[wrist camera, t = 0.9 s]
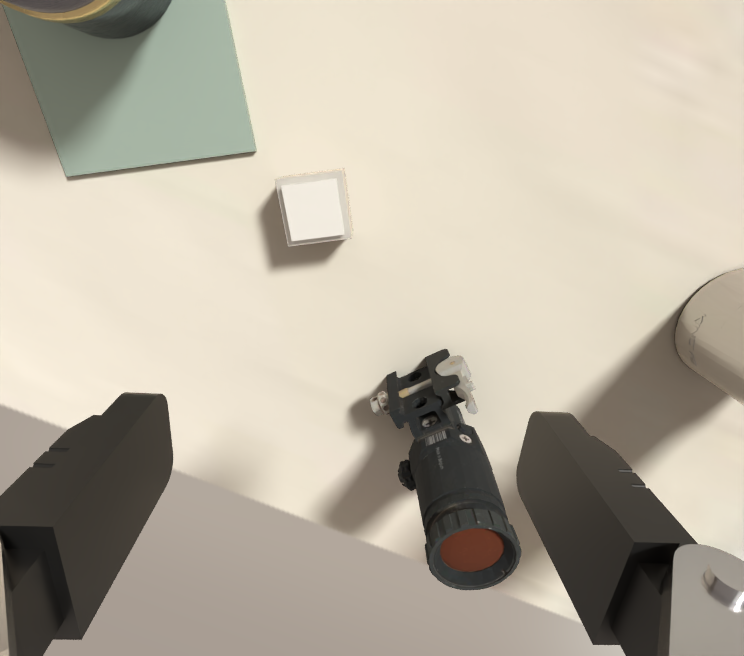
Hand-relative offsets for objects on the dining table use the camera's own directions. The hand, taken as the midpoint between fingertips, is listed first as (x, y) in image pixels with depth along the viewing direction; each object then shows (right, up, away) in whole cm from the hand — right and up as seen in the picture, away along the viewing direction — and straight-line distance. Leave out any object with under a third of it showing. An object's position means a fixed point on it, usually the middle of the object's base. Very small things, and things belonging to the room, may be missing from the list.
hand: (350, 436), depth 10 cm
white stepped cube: (-3, +11, +21) cm, 24 cm away
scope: (+6, -5, +28) cm, 29 cm away
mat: (-15, +22, +17) cm, 31 cm away
